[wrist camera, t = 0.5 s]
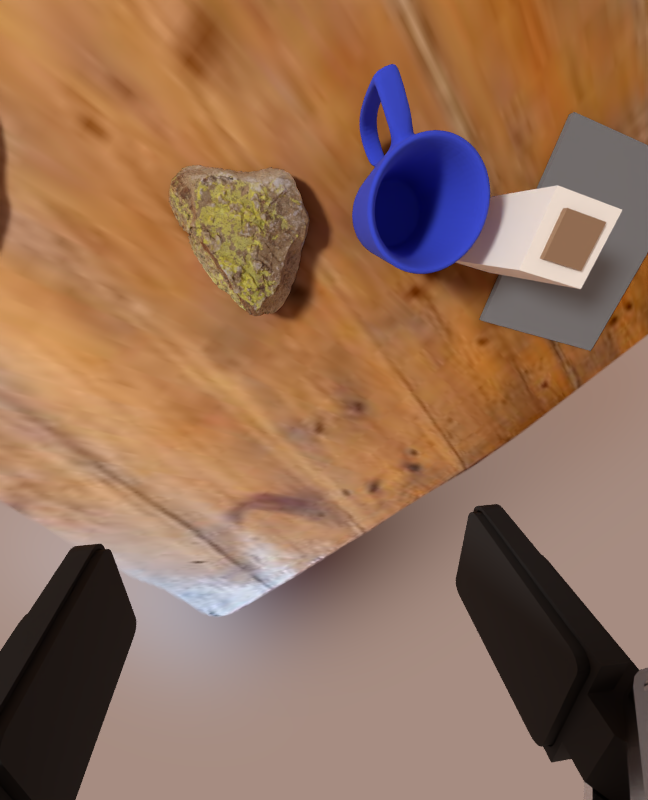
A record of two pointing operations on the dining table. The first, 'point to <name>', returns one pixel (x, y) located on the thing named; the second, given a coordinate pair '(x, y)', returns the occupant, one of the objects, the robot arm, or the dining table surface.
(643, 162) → the mat
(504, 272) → the block
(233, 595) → the dining table surface
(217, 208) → the rock
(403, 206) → the mug
